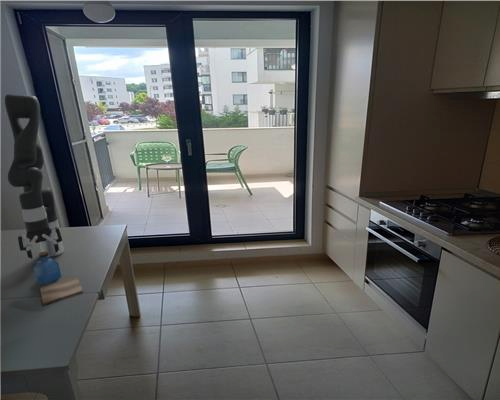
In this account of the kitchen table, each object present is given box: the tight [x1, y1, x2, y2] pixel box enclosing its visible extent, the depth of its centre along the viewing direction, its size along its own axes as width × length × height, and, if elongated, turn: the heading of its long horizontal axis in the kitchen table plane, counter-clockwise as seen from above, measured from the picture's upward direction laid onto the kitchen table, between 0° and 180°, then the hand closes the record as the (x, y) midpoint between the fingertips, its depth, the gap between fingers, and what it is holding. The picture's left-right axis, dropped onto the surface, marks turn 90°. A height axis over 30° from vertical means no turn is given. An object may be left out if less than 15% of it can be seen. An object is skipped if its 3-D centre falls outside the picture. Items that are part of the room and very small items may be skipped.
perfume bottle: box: [33, 252, 62, 285], centre depth 123 cm, size 6×6×12 cm
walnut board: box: [39, 276, 84, 306], centre depth 116 cm, size 13×13×1 cm
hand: (44, 254), depth 122 cm, fingers open, 8 cm apart
